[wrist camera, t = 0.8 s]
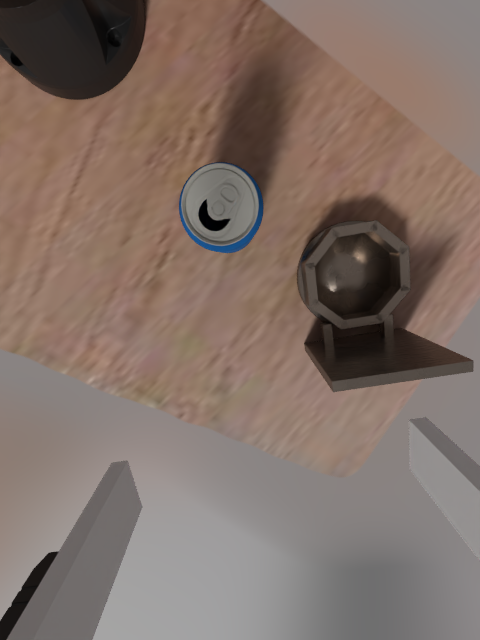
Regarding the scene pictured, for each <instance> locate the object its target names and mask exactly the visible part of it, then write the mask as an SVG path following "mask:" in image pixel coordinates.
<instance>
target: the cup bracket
mask: <svg viewBox="0 0 480 640" xmlns="http://www.w3.org/2000/svg"><path fill="white" fill-rule="evenodd" d="M297 285H298V290H299V293H300V296H301V298H302V300H303V302H304V304H305V305H306V307H307V308H308V309H309V310H310V311H311V312H312V313H313V314H314V315H315V316H317V317H318V318H320V319H321V320H323V321H325V322H322V323H320V327H321V336H322V340H321V341H315V342H309V343H304V345H305V351H306V353H307V354H308V356H309V357H310V358H311V360H312V361H313V363H314V364H315V366H316V367H317V369H318V370H319V372H320V373H321V375H322V376H323V378H324V379H325V381H326V382H327V384H328V385H329V387H330V388H331V390H332V391H333V392H337V391H344V390H351V389H358V388H364V387H371V386H378V385H385V384H392V383H398V382H405V381H412V380H419V379H425V378H432V377H439V376H445V375H452V374H459V373H466V372H473V360H471V359H469V358H467V357H464V356H462V355H460V354H458V353H456V352H453V351H451V350H449V349H447V348H444V347H442V346H440V345H438V344H436V343H433V342H431V341H429V340H427V339H425V338H422V337H420V336H418V335H416V334H413V333H411V332H409V331H407V330H405V329H402V328H399V329H393V314H391V312H392V311H393V310H394V308H395V307H396V306H397V305H398V304H399V303H400V301H401V300H402V299H403V298H404V297H405V296H406V294H407V293H408V292H409V291H410V259H409V246H407V245H406V244H405V243H404V242H402V241H401V240H400V239H399V238H398V237H396V236H395V235H394V234H393V233H391V232H390V231H389V230H388V229H387V228H385V227H384V226H383V225H382V224H380V223H379V222H378V221H377V220H375V221H370V222H362V221H348V222H343V223H339V224H336V225H333V226H331V227H329V228H327V229H325V230H323V231H322V232H320V233H319V234H318V235H317V236H316V237H314V238H313V239H312V241H311V242H310V243H309V244H308V245H307V247H306V249H305V250H304V252H303V254H302V256H301V259H300V261H299V265H298V270H297ZM378 323H380V332H373V333H367V334H360V335H354V336H347V337H341V338H334V339H333V334H332V324H333V325H336V326H337V327H339V328H340V329H346V328H353V327H359V326H366V325H372V324H378Z"/></svg>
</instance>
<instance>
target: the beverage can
mask: <svg viewBox="0 0 480 640" xmlns="http://www.w3.org/2000/svg"><path fill="white" fill-rule="evenodd" d="M179 212H180V218H181V221H182V224H183V226H184V228H185V230H186V232H187V233H188V235H189V236H190V237H191V238H192V239H193V240H194V241H195V242H196V243H197V244H199V245H200V246H202V247H204V248H206V249H208V250H211V251H216V252H222V253H233V252H236V251H239V250H241V249H243V248H244V247H245V246H247V245H248V244H249V242H250V241H251V240H252V238H253V237H254V235H255V234H256V232H257V230H258V228H259V226H260V224H261V221H262V216H263V199H262V195H261V191H260V189H259V187H258V185H257V183H256V182H255V180H254V179H253V178H252V176H251V175H250V174H249V173H247V172H246V171H245V170H244V169H242V168H240V167H238V166H236V165H234V164H230V163H225V162H216V163H211V164H207V165H205V166H203V167H201V168H199V169H198V170H196V171H195V172H194V173H193V174H192V175H191V176H190V177H189V178H188V180H187V181H186V183H185V185H184V187H183V189H182V192H181V195H180V201H179Z"/></svg>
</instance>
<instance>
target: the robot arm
mask: <svg viewBox="0 0 480 640" xmlns="http://www.w3.org/2000/svg"><path fill="white" fill-rule="evenodd" d="M144 26H145V8H144V0H0V55H1V56H2V57H3V58H4V59H5V60H6V61H7V62H8V63H9V64H10V65H11V66H12V67H13V68H14V69H15V70H16V71H18V72H19V73H20V74H21V75H22V76H24V77H25V78H26V79H27V80H28V81H30V82H31V83H32V84H34V85H35V86H37V87H38V88H40V89H41V90H43V91H45V92H47V93H49V94H52V95H55V96H58V97H61V98H66V99H88V98H93V97H96V96H99V95H101V94H104V93H106V92H107V91H109V90H111V89H112V88H114V87H115V86H116V85H117V84H118V83H119V82H121V81H122V80H123V78H124V77H125V76H126V75H127V74H128V72H129V71H130V69H131V68H132V66H133V64H134V62H135V61H136V58H137V56H138V53H139V51H140V48H141V44H142V40H143V35H144ZM409 445H410V446H409V447H410V471H411V472H412V473H413V475H414V476H415V477H416V478H417V480H418V481H419V482H420V484H421V485H422V486H423V488H424V489H425V490H426V492H427V493H428V494H429V495H430V497H431V498H432V499H433V501H434V502H435V503H436V505H437V506H438V507H439V509H440V510H441V511H442V512H443V514H444V515H445V516H446V518H447V519H448V520H449V522H450V523H451V524H452V525H453V527H454V528H455V529H456V531H457V532H458V533H459V535H460V536H461V537H462V538H463V540H464V541H465V542H466V544H467V545H468V546H469V548H470V549H471V550H472V552H473V553H474V554H475V555H476V557H477V558H478V559H479V561H480V466H479V465H478V464H477V463H476V462H475V461H474V460H472V459H471V458H470V457H469V456H468V455H467V454H466V453H464V451H463V450H461V449H460V448H459V447H458V446H457V445H456V444H455V443H454V442H453V441H451V440H450V439H449V438H448V437H447V436H446V435H445V434H444V433H443V432H442V431H441V430H440V429H438V428H437V427H436V426H435V425H434V424H433V423H432V422H431V421H429V419H427V418H426V417H425V418H418V419H411V420H409ZM141 509H142V505H141V501H140V498H139V495H138V492H137V489H136V486H135V482H134V479H133V476H132V473H131V470H130V467H129V463H128V461H121V462H114V463H111V465H110V467H109V469H108V470H107V472H106V473H105V475H104V477H103V478H102V480H101V482H100V484H99V485H98V487H97V489H96V490H95V492H94V494H93V496H92V497H91V499H90V500H89V502H88V504H87V505H86V507H85V509H84V510H83V512H82V514H81V515H80V517H79V519H78V521H77V522H76V524H75V525H74V527H73V529H72V531H71V533H70V534H69V536H68V537H67V539H66V541H65V542H64V544H63V546H62V547H61V549H60V551H59V552H51V553H48V554H47V555H46V556H45V558H44V559H43V560H42V561H41V562H40V563H39V564H38V565H37V566H36V567H35V568H34V569H33V571H32V572H31V574H30V576H29V577H28V579H27V580H26V582H25V583H24V585H23V586H22V590H21V591H19V593H18V594H17V596H16V597H15V599H14V600H13V602H12V606H11V607H9V608H8V610H7V611H6V613H5V614H4V616H3V617H2V619H1V621H0V640H92V639H93V636H94V634H95V631H96V628H97V626H98V623H99V620H100V618H101V615H102V612H103V610H104V607H105V604H106V602H107V599H108V596H109V594H110V591H111V588H112V586H113V583H114V580H115V578H116V575H117V572H118V570H119V567H120V565H121V562H122V559H123V557H124V554H125V551H126V549H127V546H128V543H129V541H130V538H131V535H132V532H133V530H134V527H135V525H136V522H137V519H138V517H139V514H140V511H141Z"/></svg>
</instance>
